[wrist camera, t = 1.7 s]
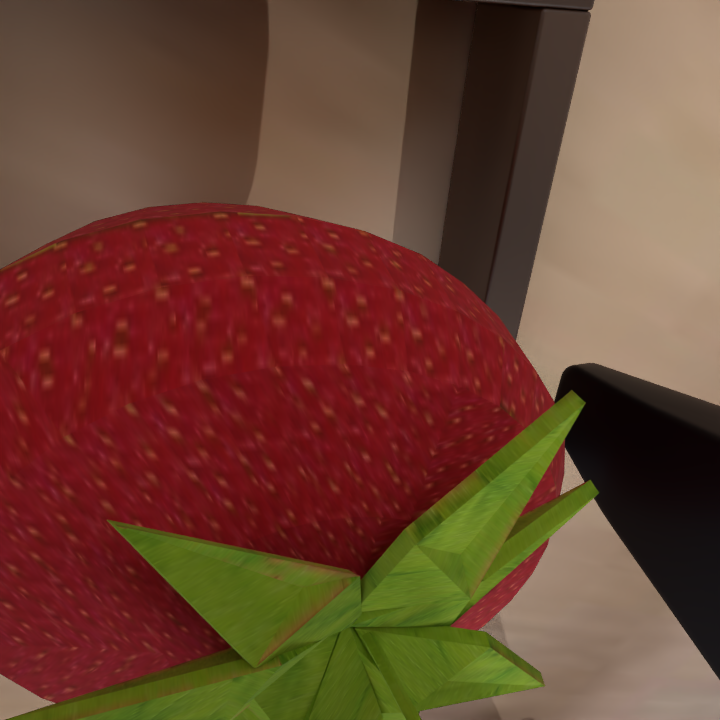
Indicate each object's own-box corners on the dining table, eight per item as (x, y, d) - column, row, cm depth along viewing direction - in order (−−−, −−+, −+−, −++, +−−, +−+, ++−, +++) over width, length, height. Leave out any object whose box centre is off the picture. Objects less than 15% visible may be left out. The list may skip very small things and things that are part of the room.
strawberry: (-3, 26, 9) (-834, 699, 1) (436, 189, 12) (1058, 607, 4) (-59, 382, 11) (-428, 1486, 3) (327, 432, 15) (613, 998, 7)
